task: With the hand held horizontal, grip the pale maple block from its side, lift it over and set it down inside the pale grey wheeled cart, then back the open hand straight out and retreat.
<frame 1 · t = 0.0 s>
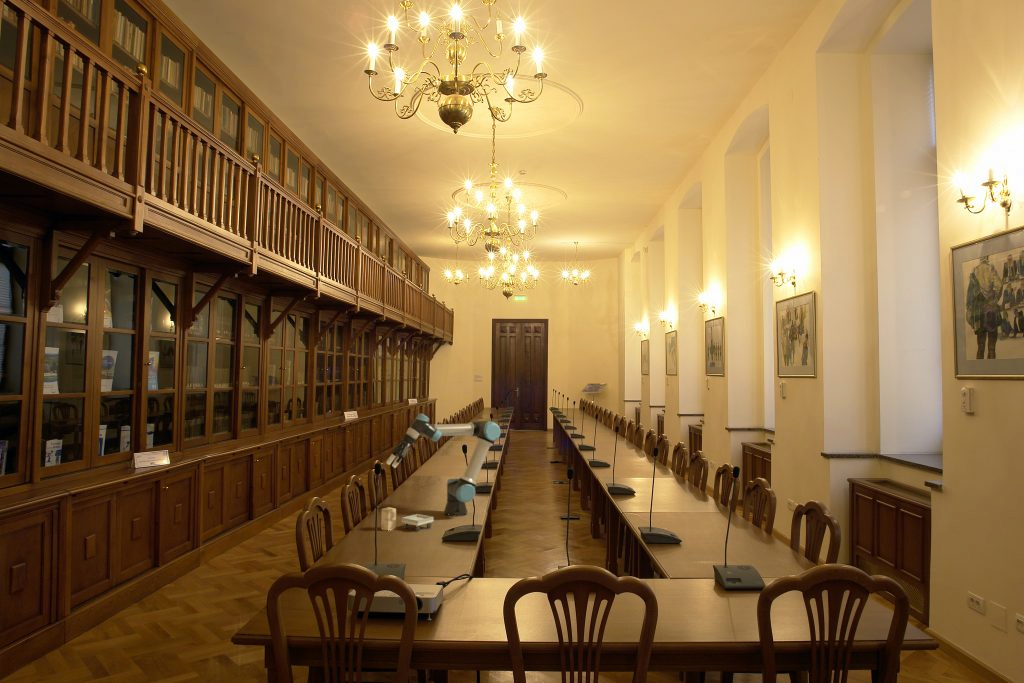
hand: (390, 465, 405), 36 cm above the table, tool tilted 35°, fingers open, 13 cm apart
cart: (417, 522, 395), point 3 cm above the table, slide at 0.0 cm
maple block: (388, 529, 392), on the table
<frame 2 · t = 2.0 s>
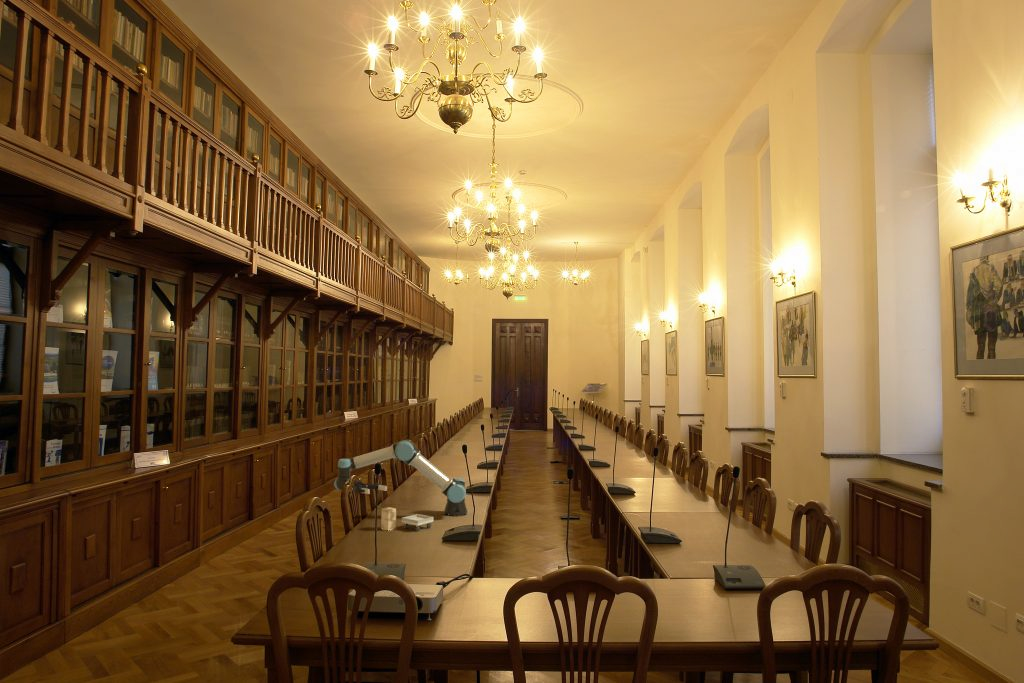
hand: (377, 490, 399), 22 cm above the table, tool horizontal, fingers open, 13 cm apart
nothing on the table moved.
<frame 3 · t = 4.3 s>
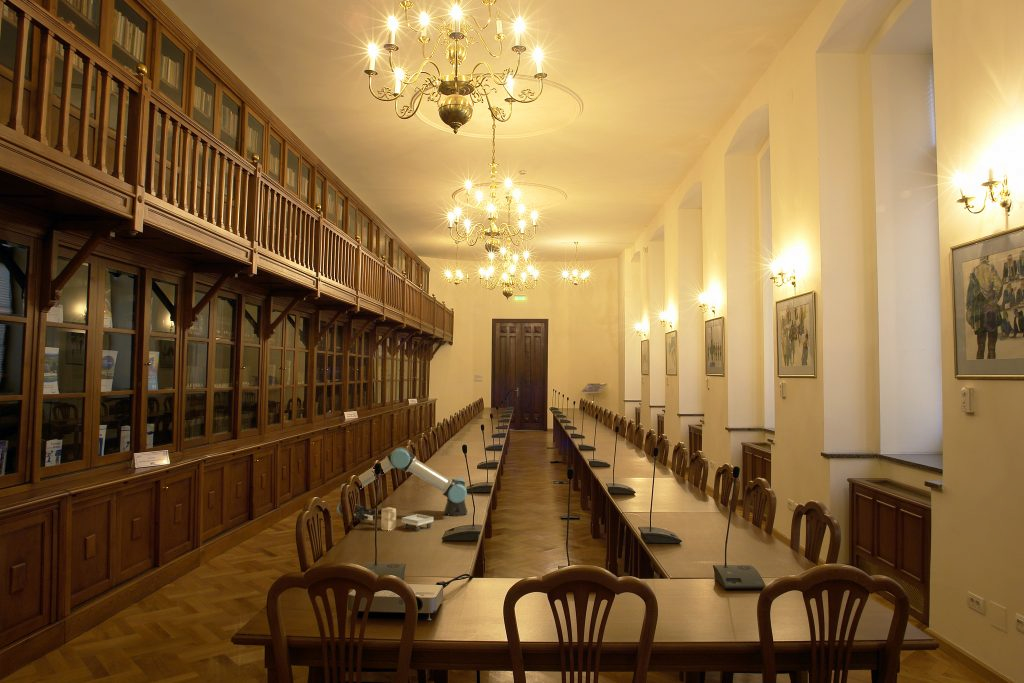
hand: (380, 516, 396), 7 cm above the table, tool horizontal, fingers open, 13 cm apart
nothing on the table moved.
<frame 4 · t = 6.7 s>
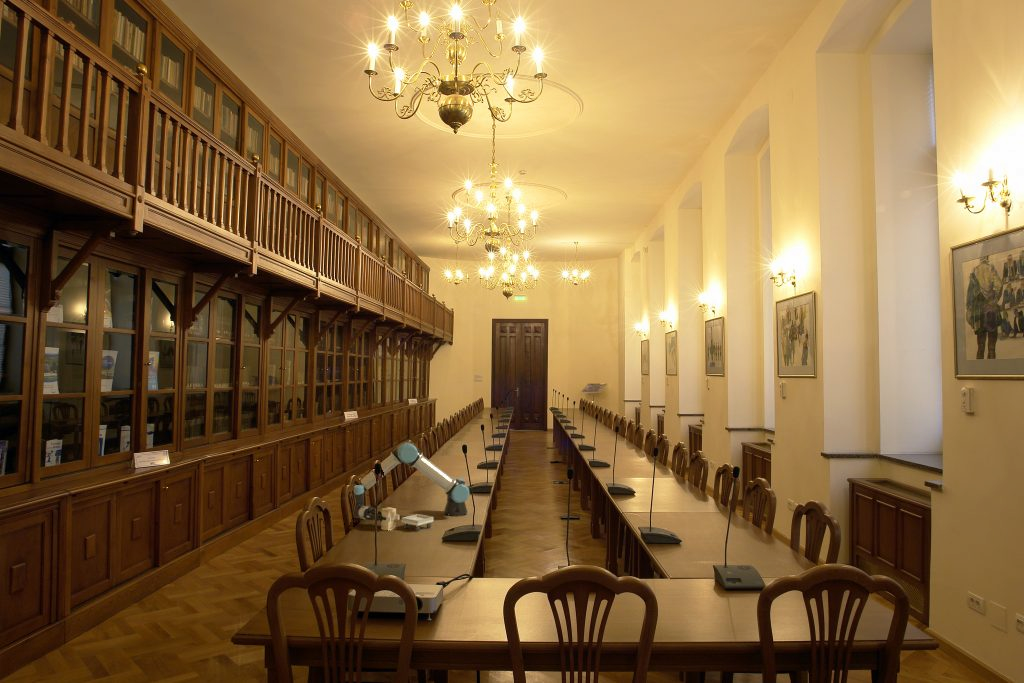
hand: (394, 518, 389), 7 cm above the table, tool horizontal, fingers closed on maple block, 6 cm apart
maple block: (388, 529, 392), on the table, touching gripper
everything else where it was.
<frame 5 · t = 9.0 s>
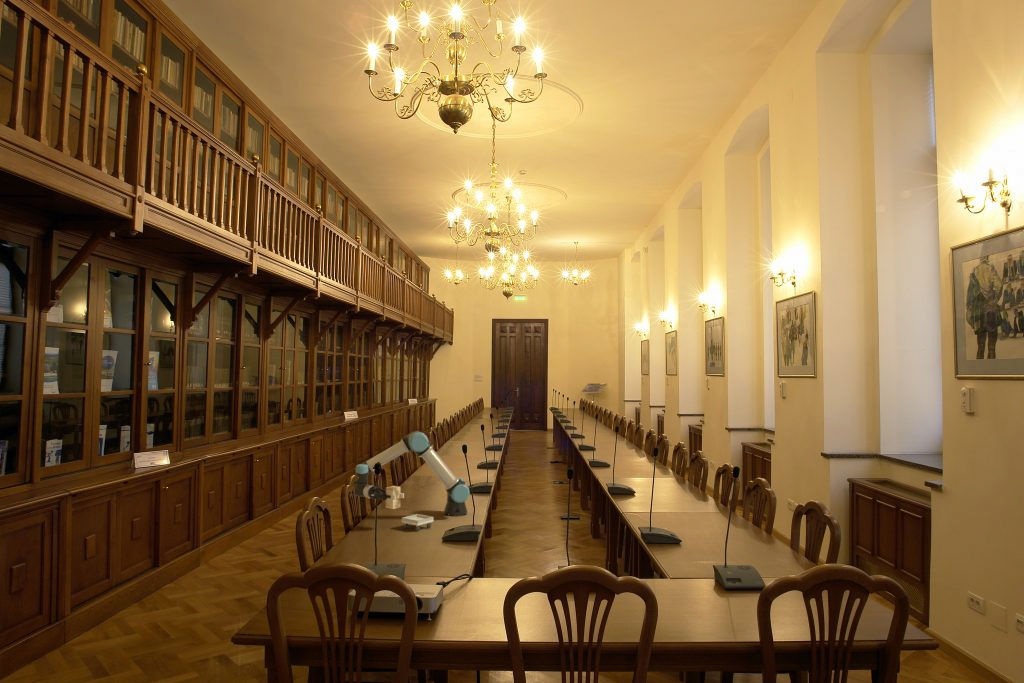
hand: (399, 496, 390), 20 cm above the table, tool horizontal, fingers closed on maple block, 6 cm apart
maple block: (393, 507, 393), point 13 cm above the table, touching gripper
everything else where it was.
when the fingers open (13 cm above the table, at t = 11.7 s): maple block drops 1 cm, resting on cart.
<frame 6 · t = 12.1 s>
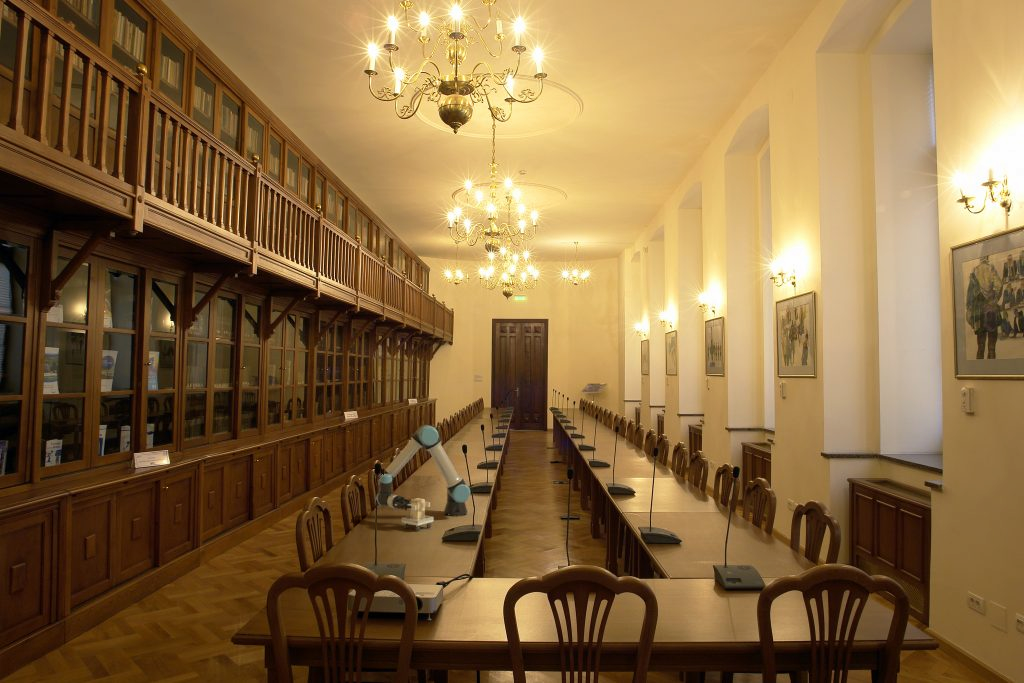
hand: (422, 506, 393), 13 cm above the table, tool horizontal, fingers open, 11 cm apart
cart: (417, 522, 395), point 3 cm above the table, slide at 0.0 cm, touching maple block
maple block: (417, 519, 395), point 5 cm above the table, touching cart
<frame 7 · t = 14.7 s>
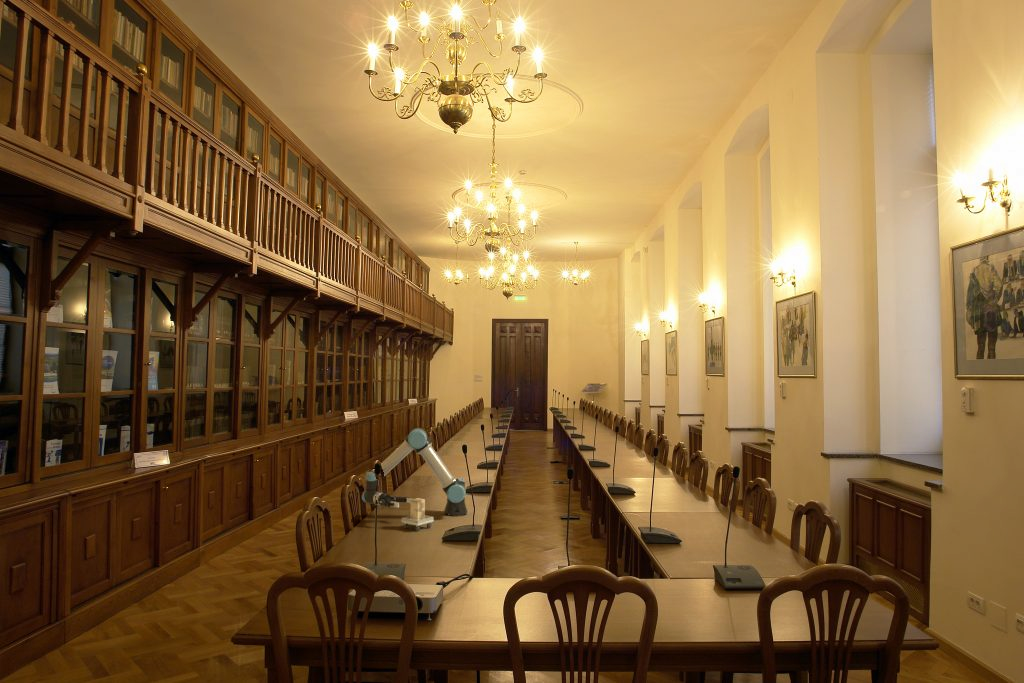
hand: (406, 503, 401), 14 cm above the table, tool horizontal, fingers open, 13 cm apart
nothing on the table moved.
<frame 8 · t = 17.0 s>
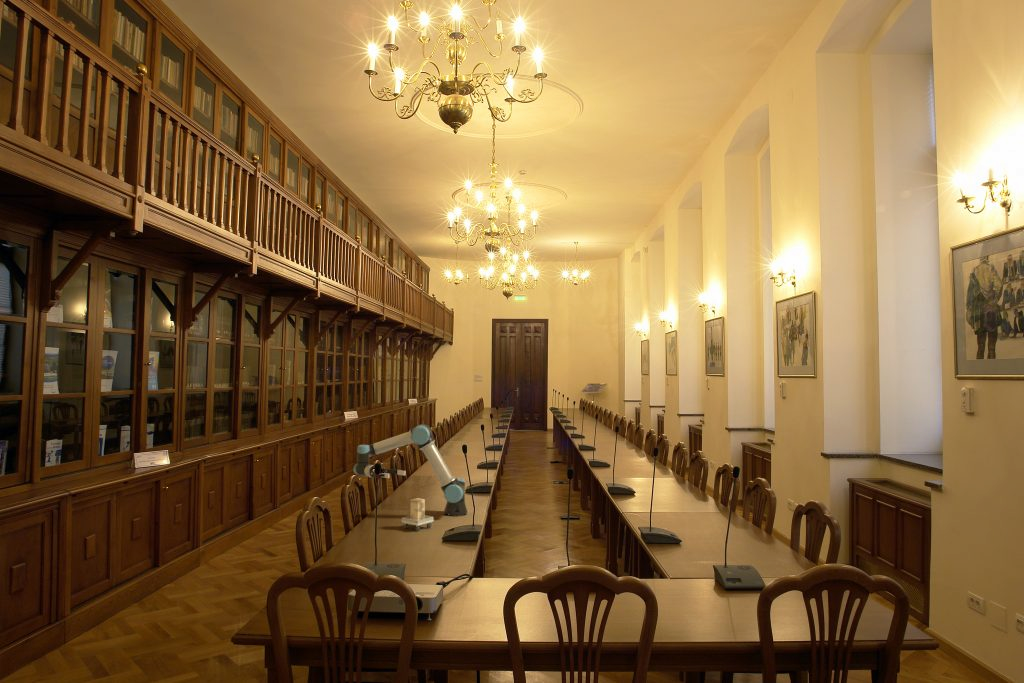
hand: (397, 474, 406), 30 cm above the table, tool horizontal, fingers open, 13 cm apart
nothing on the table moved.
at the end: maple block inside the target area on the cart (0.1 cm from its centre), point 5.0 cm above the cart's base; maple block tilted 0°; the gripper is holding nothing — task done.
